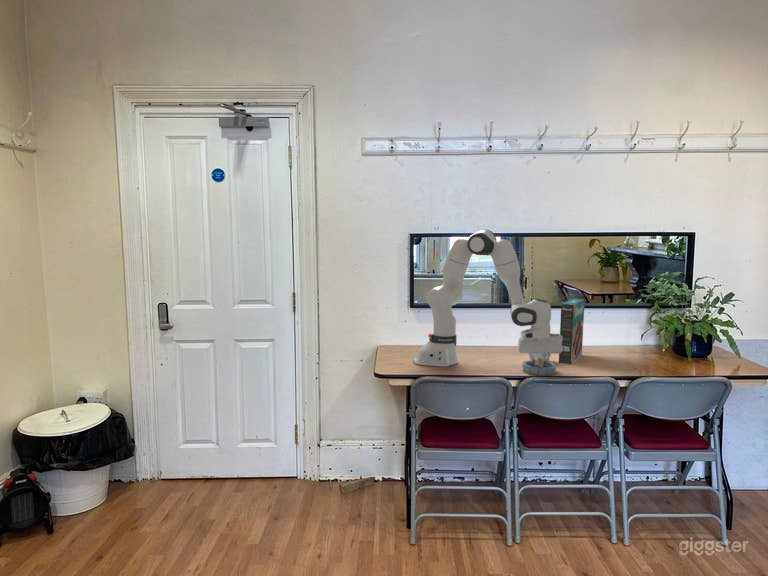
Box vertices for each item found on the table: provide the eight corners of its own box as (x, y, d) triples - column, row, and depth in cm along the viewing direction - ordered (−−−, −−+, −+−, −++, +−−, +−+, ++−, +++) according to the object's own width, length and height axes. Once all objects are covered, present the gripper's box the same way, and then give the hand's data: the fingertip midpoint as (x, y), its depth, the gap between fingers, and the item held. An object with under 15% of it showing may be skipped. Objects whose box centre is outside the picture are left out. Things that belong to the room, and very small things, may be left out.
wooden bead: (535, 370, 251) (535, 360, 250) (533, 367, 255) (533, 357, 254) (544, 370, 250) (544, 359, 250) (542, 367, 255) (542, 357, 254)
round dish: (526, 375, 246) (526, 368, 245) (519, 366, 261) (519, 359, 260) (559, 376, 245) (559, 368, 245) (550, 367, 260) (551, 360, 259)
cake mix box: (570, 364, 266) (573, 304, 262) (558, 362, 269) (561, 303, 265) (581, 355, 284) (584, 299, 280) (570, 353, 287) (572, 298, 283)
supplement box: (529, 360, 272) (530, 336, 271) (536, 358, 278) (537, 334, 276) (542, 363, 267) (543, 338, 266) (549, 360, 272) (550, 336, 271)
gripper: (560, 332, 253) (559, 360, 255) (517, 331, 254) (516, 359, 256) (564, 335, 247) (563, 364, 249) (520, 334, 248) (518, 363, 250)
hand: (539, 361), depth 252 cm, fingers open, 5 cm apart
